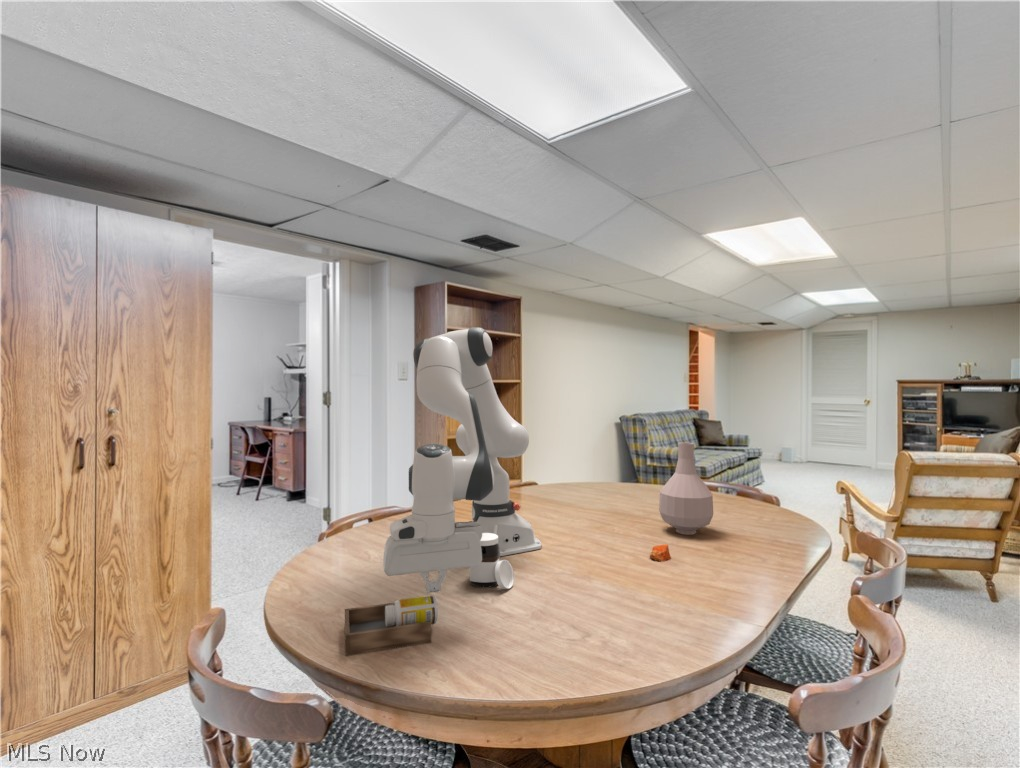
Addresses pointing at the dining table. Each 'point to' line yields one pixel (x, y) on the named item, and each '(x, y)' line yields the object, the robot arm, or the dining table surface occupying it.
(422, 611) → the supplement bottle
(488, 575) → the spread jar
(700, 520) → the vase
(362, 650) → the tray
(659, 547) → the rock
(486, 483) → the robot arm
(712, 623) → the dining table surface
